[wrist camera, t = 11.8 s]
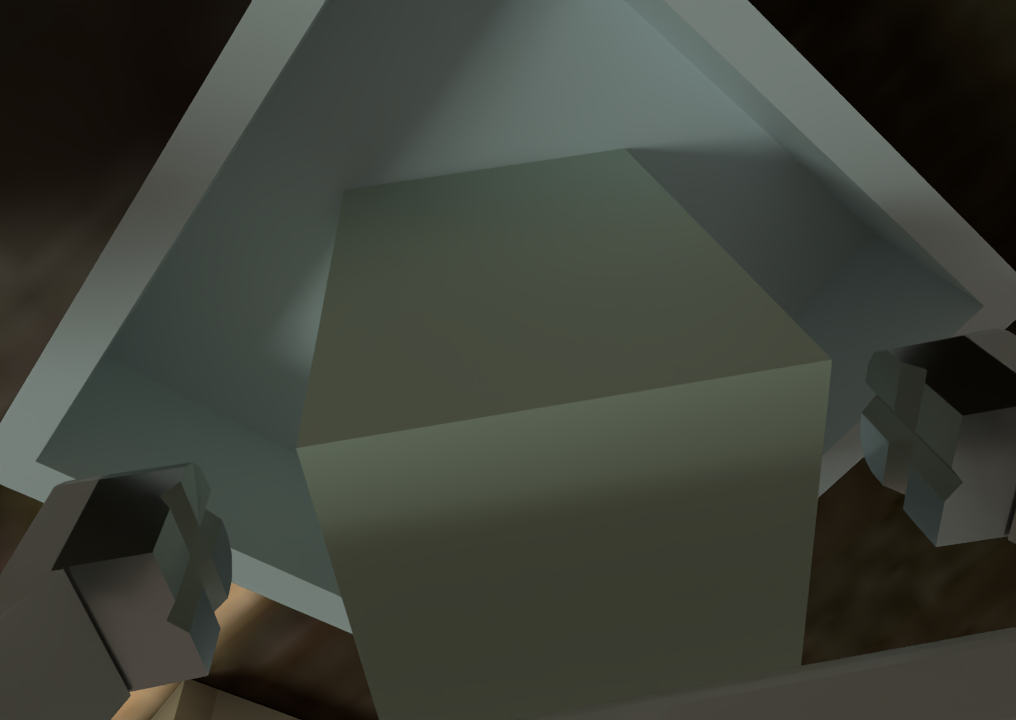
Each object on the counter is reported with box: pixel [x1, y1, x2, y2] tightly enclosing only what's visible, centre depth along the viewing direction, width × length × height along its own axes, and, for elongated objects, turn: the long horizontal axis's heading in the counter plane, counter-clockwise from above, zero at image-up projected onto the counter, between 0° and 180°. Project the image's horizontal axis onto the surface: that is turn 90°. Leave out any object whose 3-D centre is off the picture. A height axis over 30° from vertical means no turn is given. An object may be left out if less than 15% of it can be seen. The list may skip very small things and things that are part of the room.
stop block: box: [296, 148, 832, 720], centre depth 11 cm, size 4×4×7 cm
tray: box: [0, 0, 1016, 634], centre depth 13 cm, size 11×11×4 cm
